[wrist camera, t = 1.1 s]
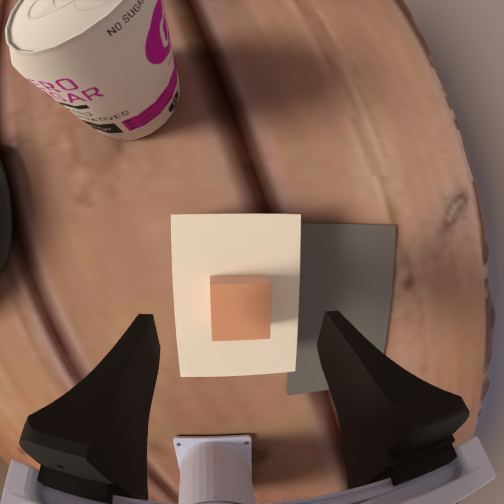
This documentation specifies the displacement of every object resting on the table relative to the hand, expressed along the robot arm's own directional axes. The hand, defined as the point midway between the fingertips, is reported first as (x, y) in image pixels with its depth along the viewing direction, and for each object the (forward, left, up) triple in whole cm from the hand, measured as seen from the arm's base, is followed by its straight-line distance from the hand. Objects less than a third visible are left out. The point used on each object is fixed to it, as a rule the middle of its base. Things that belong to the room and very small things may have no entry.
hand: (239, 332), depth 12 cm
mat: (-4, -11, -12) cm, 17 cm away
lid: (-1, -1, -9) cm, 9 cm away
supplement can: (+15, +8, -13) cm, 21 cm away
